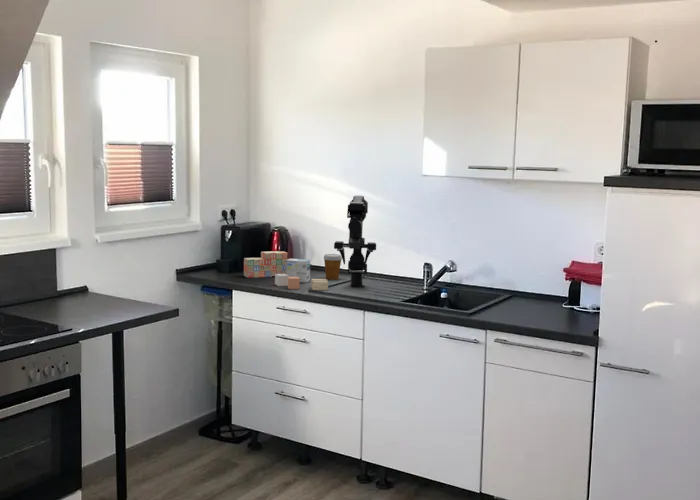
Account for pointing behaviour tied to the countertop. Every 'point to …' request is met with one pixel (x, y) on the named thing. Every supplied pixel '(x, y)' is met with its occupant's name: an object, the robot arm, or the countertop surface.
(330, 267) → the disposable coffee cup
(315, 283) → the birch block
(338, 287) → the countertop surface
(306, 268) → the light bulb box
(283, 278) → the white cube
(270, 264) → the stack of blocks
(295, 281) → the terracotta cube
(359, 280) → the robot arm
